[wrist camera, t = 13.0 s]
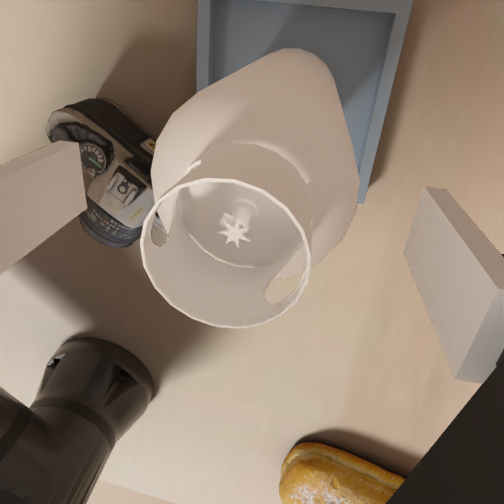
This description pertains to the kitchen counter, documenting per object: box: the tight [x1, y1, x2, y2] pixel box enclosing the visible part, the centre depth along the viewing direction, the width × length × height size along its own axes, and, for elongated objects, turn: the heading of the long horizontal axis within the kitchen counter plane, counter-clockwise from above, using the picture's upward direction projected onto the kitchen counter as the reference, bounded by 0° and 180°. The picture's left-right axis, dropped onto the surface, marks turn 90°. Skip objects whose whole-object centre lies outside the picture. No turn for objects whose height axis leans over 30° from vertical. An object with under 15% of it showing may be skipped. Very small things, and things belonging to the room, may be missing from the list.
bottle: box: [140, 48, 360, 329], centre depth 23 cm, size 8×8×28 cm
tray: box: [196, 0, 413, 203], centre depth 34 cm, size 16×16×2 cm
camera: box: [45, 98, 168, 248], centre depth 37 cm, size 16×10×10 cm, turn 50°
